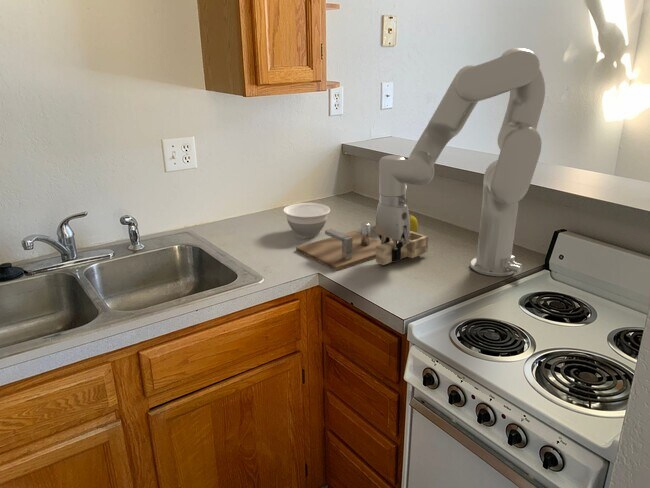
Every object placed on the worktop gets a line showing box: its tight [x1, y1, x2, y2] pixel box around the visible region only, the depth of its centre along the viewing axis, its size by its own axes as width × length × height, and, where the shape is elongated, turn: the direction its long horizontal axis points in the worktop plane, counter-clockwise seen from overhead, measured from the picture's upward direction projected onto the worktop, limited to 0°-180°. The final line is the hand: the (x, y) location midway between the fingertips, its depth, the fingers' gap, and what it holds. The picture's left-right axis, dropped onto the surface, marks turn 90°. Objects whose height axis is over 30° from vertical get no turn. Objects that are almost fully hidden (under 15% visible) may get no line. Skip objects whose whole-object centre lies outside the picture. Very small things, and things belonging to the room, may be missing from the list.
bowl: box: [282, 202, 331, 239], centre depth 183 cm, size 16×16×9 cm
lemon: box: [409, 214, 419, 233], centre depth 178 cm, size 6×6×8 cm
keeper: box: [324, 228, 353, 260], centre depth 161 cm, size 10×2×7 cm, turn 38°
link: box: [375, 231, 429, 266], centre depth 160 cm, size 17×7×5 cm, turn 128°
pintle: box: [360, 221, 371, 246], centre depth 169 cm, size 3×3×7 cm
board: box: [295, 230, 381, 272], centre depth 168 cm, size 20×24×1 cm
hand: (391, 258), depth 159 cm, fingers closed on link, 3 cm apart
